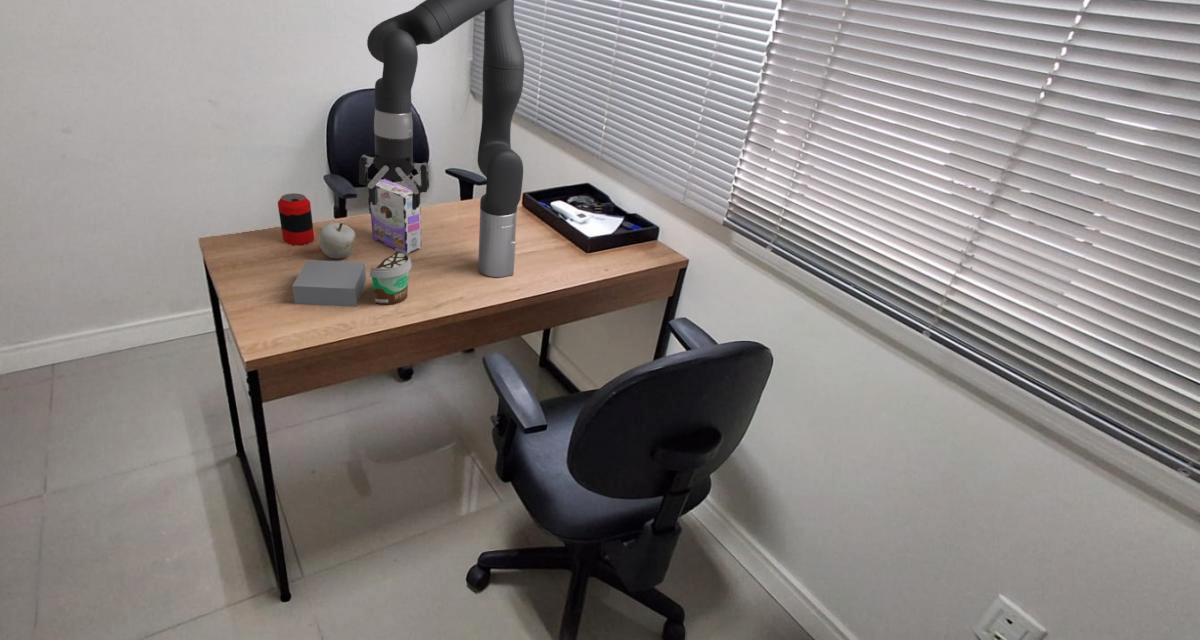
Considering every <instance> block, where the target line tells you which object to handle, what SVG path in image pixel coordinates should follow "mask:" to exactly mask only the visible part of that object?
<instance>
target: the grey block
mask: <svg viewBox="0 0 1200 640" xmlns="http://www.w3.org/2000/svg"><path fill="white" fill-rule="evenodd" d="M366 268H367V267H366V262H356V261H353V262H352V261H337V260H316V259H307V260H306V261H305V264H304V265H303V267H302V269H301V271H300V272H299V274H298V276H297V277H296V279H295V281H294V282H293V284H292V285H291V288H292V294H293V300H294V305H305V306H306V305H307V306H309V305H310V306H334V307H338V306H339V307H357V305H358V302H359V301H360V298H361V295H362V292H363V290H364V287H365V284H366V282H367V269H366Z"/></svg>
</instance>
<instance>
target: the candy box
mask: <svg viewBox="0 0 1200 640" xmlns="http://www.w3.org/2000/svg"><path fill="white" fill-rule="evenodd" d="M376 186H377V191H378V203H377V204H376V205H372V202H370V201H369V209H370V217H371V220H370V221H371V233H372V239H373V240H375V241H376V242H380V243H381V244H383V245H386V246H387V247H390V248H393V249H394V250H395V248H397V249H400V250H403V251H405V252H406V253H407V254H410V253H413V252H415V251H418V250H421V249H423V248H422V219H421V218H422V217H421V215H422V213H421V209H422V208H421V206H422V205H421V204H420V205H419V207H418V208H417V209H416V210H412V194H413V191H412V190H411V189H410V187H408V186H404V185H401V184H400V183H397V182H395V181H393V180H386V179H385V178H383V179H382V178H381V179H380V180H379V182H378V183H377V184H376Z"/></svg>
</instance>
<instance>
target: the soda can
mask: <svg viewBox="0 0 1200 640" xmlns="http://www.w3.org/2000/svg"><path fill="white" fill-rule="evenodd" d="M277 207H278V214H279V215H278V216H279V221H280V227H281V234H282V235H281V237H282V240H283V242H284V243H285V242H286V243H285V244H287V243H288V244H287V245H289V244H291V245H290V246H295V245H300V246H305V245H304V244H306V245H309V244H311V243H313V242H314V240H315V234H314V233H315V232H314V224H313V216H312V208H311V201H310V200H309V199H308V198H307V197H306V196H305V194H301V193H294V192H293V193H285V194H283V195H282V196H281V197H280V199H279V200H278V201H277ZM310 242H311V243H310ZM308 243H309V244H308Z"/></svg>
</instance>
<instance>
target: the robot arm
mask: <svg viewBox="0 0 1200 640" xmlns="http://www.w3.org/2000/svg"><path fill="white" fill-rule="evenodd" d="M514 7H515V0H423V1H422V2H421V3H419V4H418V5H416V6H415V7H413V8H412V9H411V10H408V11H406V12H402V13H400V14H397V15H395V16H392V17H391V18H388V19H385V20H384V21H382V22H381V21H380V23H378V24H377V25H375V26H374V27H373V28H372V29H371V31H370V32H369V33H368V36H367V41H366V43H367V44H366V45H367V49H368V51H369V53H370V55H371V56H372V57H373V58H374V59H375V60H376V61H378V62H380V63H382V65H383V67H382V75H381V76H382V77H380V78H378V79H377V80H376V81H375V82H374V83H375V84H374V117H373V124H374V125H373V131H374V155H375V156H373V157H371V156H368V154H362V155H361V157H360V158H359V160H358V184H359V185H361V186H365V187H367V188H368V201H369V203H370V202H372V205H376V204H377V203H378V191H377V186H376V184H377V183H378V182H379V180H382V178H383V179H386V180H389V181H394V182H399V183H401V182H402V181H403V182H404V184H405V185H406V187H408V188H410V189H411V190H412V191H413V194H412V210H416V209H417V208H418V207H419V205H420V206H421V193H427V192H428V190H429V188H430V179H429V178H430V176H429V163H428V162H426V161H423V162H422V163H419V162H418V163H417V162H415V161H414V158H413V153H414V150H413V147H414V146H413V143H414V142H413V141H414V140H413V137H414V135H413V133H414V132H413V131H414V129H413V127H414V125H413V116H412V115H413V114H412V88H413V85H414V81H415V77H416V72H417V67H418V62H419V61H418V60H419V55H418V47H417V46H420V45H432V44H434V43H437V42H438V41H440V40H441V39H442V38H444V37H446V36H447V35H449V34H450V33H451V32H453V31H454V30H456V29H457V28H459V27H460V26H462V25H463V24H465V23H466V22H468V21H470V20H472V19H473V18H475V17H477V16H478V15H480V14H482V13H483V12H484V27H483V31H484V32H483V59H482V93H481V94H482V98H481V101H482V102H481V110H482V111H481V130H480V135H479V136H480V137H479V144H478V151H477V164H478V165H477V166H478V169H479V171H480V172H481V174H482V175H483V176H484V177H486V185H485V194H483V195H481V196H480V202H479V203H480V204H479V208H480V209H479V230H478V231H479V232H478V233H479V234H478V235H479V237H478V263H477V264H478V265H477V268H478V271H479V272H480V274H482V275H485V276H487V277H491V278H506V277H509V276H514V273H515V272H514V271H515V259H516V258H515V255H516V231H517V230H516V229H517V218H518V217H517V216H518V215H517V214H518V213H517V211H518V205H519V203H520V201H521V197H522V191H523V190H522V188H523V179H524V164H523V160H522V158H521V156H520V155H519V154H518V153H517V152H516V151H514V150H513V149H512V148H511V147H512V146H511V145H512V144H511V127H512V120H513V116H514V114H515V111H516V109H517V107H518V104H519V102H520V99H521V96H522V93H523V88H524V75H525V74H524V73H525V56H524V52H523V51H524V50H523V47H522V42H521V40H520V37H519V34H518V33H519V32H518V30H517V25H516V22H515V21H516V20H515V9H514ZM372 164H373V166H374V167H375V168H376V170H377V171H378V172H377V173H376V174H375V175H374V177H373V178H372V179H370V178H369V177H368V175H369V167H370V166H371V165H372ZM413 170H416V171H417V174H419V175H420V184H421V185H420V184H419V183H418V181H417V180H416V177H415V176H414V175H413V174H412V172H413Z"/></svg>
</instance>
